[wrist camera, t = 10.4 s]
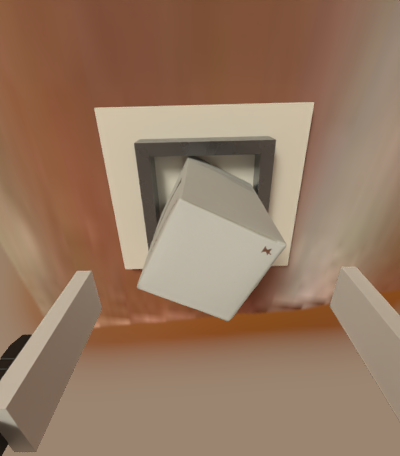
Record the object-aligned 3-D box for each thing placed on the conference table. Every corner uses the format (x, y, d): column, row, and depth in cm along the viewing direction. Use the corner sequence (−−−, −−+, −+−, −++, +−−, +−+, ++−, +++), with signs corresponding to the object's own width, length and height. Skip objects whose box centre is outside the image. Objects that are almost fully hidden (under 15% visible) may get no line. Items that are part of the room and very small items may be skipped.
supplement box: (188, 150, 25) (180, 193, 14) (252, 183, 26) (293, 246, 15) (159, 212, 28) (132, 289, 16) (218, 238, 29) (230, 325, 18)
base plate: (98, 107, 24) (94, 108, 23) (309, 102, 24) (314, 102, 23) (127, 263, 32) (125, 269, 31) (284, 260, 32) (287, 265, 31)
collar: (139, 139, 24) (133, 143, 22) (269, 136, 24) (276, 139, 22) (153, 249, 30) (149, 261, 28) (258, 246, 30) (263, 258, 28)
